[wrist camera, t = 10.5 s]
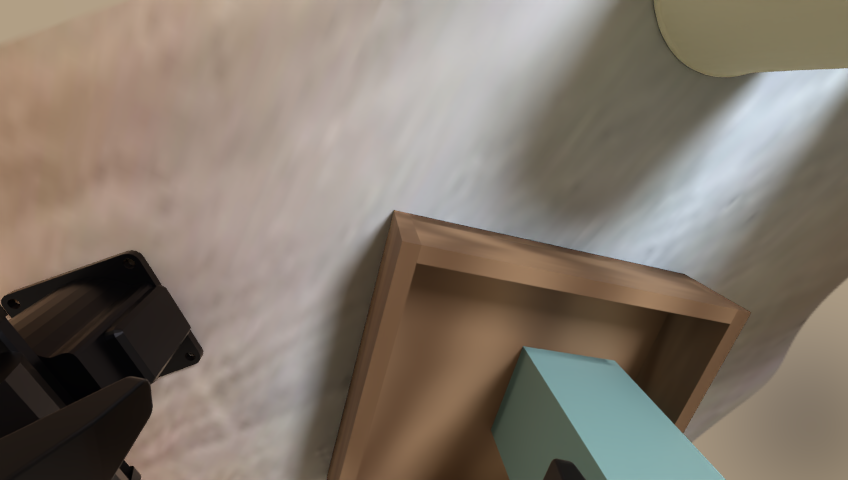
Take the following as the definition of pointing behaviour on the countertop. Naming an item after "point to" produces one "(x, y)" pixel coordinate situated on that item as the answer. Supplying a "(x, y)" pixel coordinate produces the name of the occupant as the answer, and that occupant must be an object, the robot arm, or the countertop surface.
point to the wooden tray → (508, 343)
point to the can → (755, 34)
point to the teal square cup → (588, 423)
